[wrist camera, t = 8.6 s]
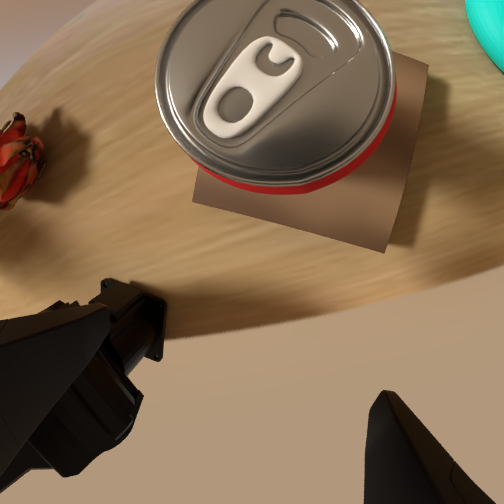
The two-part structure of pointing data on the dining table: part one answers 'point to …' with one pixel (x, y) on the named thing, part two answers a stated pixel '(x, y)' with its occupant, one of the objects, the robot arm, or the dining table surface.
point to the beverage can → (276, 90)
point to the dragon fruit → (18, 161)
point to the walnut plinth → (343, 180)
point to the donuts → (488, 27)
